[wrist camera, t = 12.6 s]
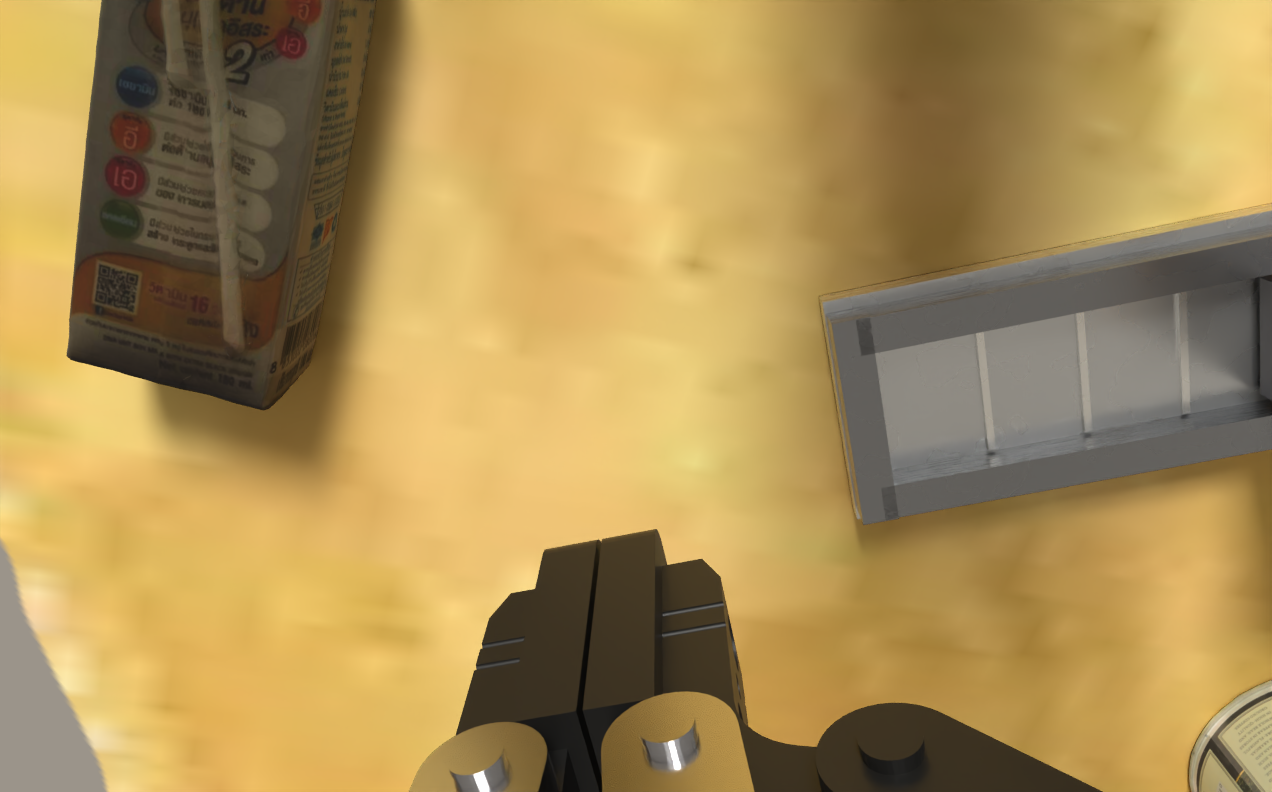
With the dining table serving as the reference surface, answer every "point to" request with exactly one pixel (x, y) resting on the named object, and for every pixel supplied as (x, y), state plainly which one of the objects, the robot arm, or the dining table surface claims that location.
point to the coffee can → (1236, 746)
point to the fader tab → (1266, 336)
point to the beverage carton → (214, 189)
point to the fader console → (1053, 366)
